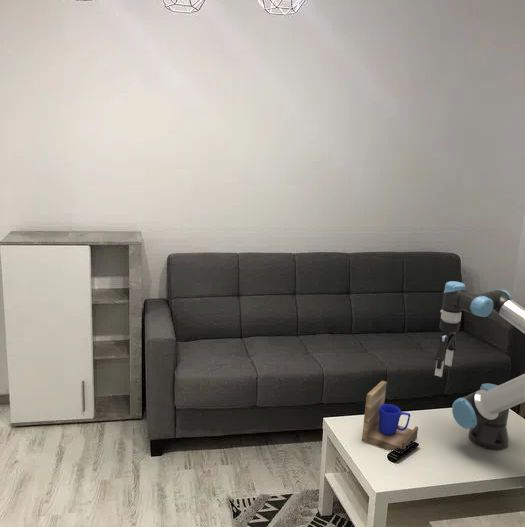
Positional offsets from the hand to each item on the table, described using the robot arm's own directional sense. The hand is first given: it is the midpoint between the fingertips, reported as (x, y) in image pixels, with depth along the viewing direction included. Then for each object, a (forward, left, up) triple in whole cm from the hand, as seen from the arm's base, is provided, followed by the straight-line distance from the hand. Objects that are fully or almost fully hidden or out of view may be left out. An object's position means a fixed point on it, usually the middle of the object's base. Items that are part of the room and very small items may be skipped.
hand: (443, 370), depth 247 cm
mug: (+12, +18, -24) cm, 32 cm away
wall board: (+20, +19, -27) cm, 38 cm away
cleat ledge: (+12, +19, -27) cm, 35 cm away
